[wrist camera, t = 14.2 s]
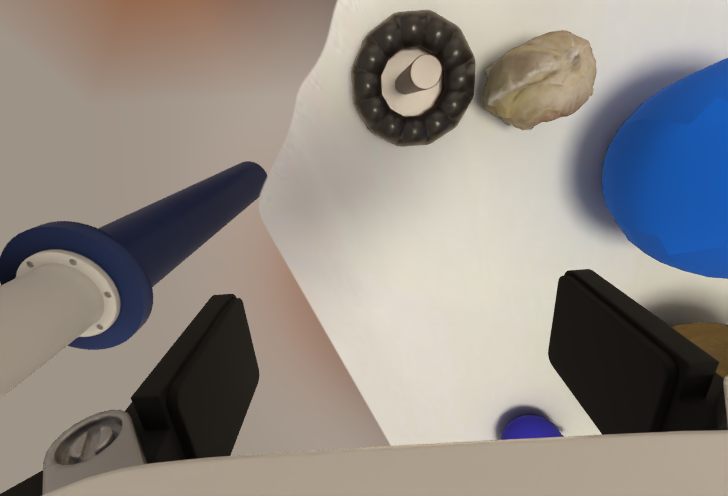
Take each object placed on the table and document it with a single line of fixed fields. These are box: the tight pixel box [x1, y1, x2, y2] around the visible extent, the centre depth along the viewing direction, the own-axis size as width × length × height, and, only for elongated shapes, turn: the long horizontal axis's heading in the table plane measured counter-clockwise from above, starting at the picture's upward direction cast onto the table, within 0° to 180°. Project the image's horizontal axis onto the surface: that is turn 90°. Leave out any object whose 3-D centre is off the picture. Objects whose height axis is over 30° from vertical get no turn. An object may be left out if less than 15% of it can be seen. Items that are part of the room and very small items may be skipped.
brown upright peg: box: [362, 42, 444, 129], centre depth 29 cm, size 8×8×15 cm
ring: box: [352, 10, 475, 146], centre depth 34 cm, size 12×12×3 cm
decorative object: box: [501, 415, 564, 440], centre depth 51 cm, size 10×6×10 cm
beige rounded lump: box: [483, 30, 596, 130], centre depth 32 cm, size 9×8×10 cm
